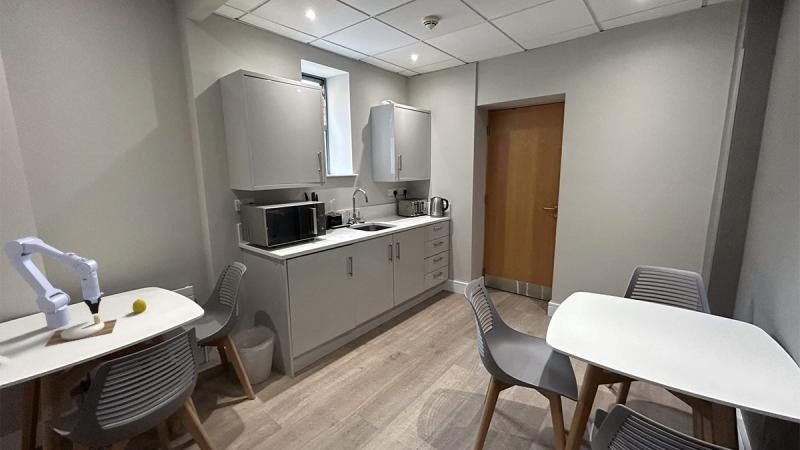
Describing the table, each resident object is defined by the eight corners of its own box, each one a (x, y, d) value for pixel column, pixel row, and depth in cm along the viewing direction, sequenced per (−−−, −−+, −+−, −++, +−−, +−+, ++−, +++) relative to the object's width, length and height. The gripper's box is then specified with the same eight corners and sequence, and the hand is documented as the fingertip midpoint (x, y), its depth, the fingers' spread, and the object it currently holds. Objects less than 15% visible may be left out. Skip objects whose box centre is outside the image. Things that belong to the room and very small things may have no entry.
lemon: (139, 316, 164) (137, 301, 162) (130, 315, 165) (128, 300, 163) (150, 312, 169) (148, 297, 168) (141, 311, 170) (139, 296, 169)
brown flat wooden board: (56, 333, 146) (55, 330, 146) (117, 322, 158) (116, 318, 158) (44, 350, 133) (44, 346, 133) (112, 336, 145) (111, 332, 145)
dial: (74, 342, 137) (72, 330, 136) (53, 336, 141) (51, 325, 140) (112, 327, 150) (110, 316, 149) (91, 322, 154) (90, 312, 153)
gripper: (104, 287, 150) (108, 315, 152) (99, 280, 159) (103, 306, 162) (83, 291, 145) (88, 320, 147) (79, 284, 154) (84, 311, 156)
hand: (94, 313), depth 154 cm, fingers closed
